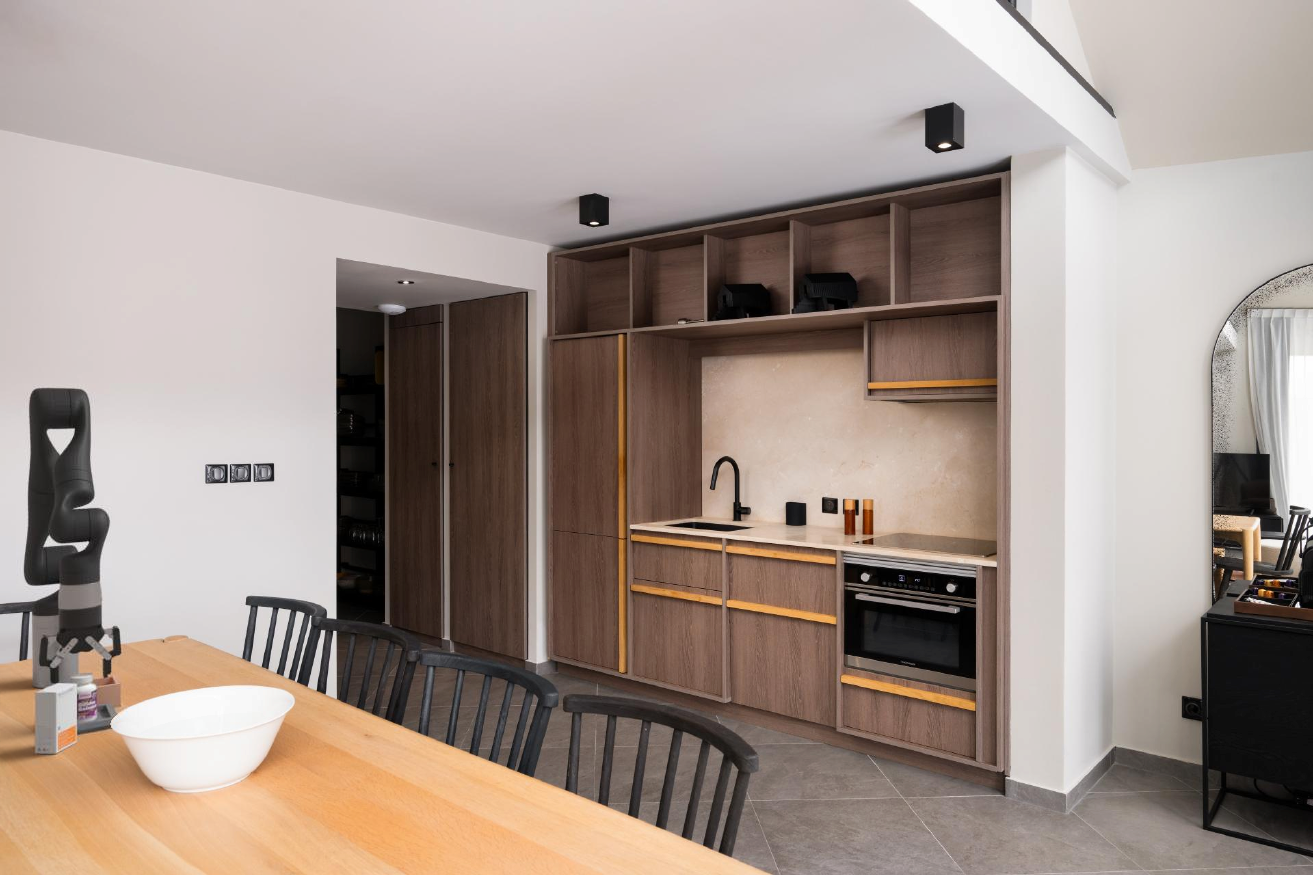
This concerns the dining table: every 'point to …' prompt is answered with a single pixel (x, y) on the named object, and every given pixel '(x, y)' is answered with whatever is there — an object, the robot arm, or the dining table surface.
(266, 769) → the dining table surface
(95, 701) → the pill bottle
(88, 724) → the charcoal tray
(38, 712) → the skincare box
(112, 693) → the open beige tray box
